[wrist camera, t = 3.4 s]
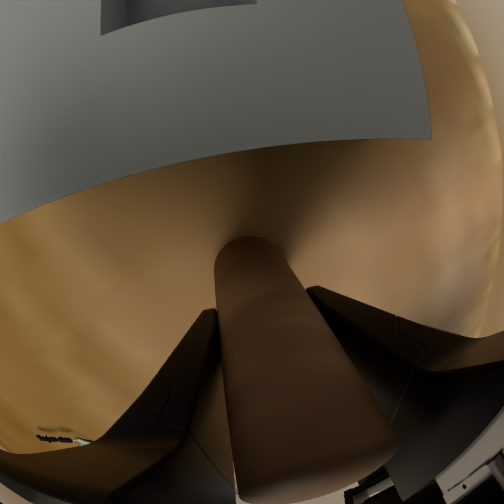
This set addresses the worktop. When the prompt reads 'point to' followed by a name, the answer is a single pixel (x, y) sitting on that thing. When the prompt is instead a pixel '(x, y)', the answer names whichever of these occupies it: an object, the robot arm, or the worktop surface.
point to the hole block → (192, 84)
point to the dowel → (289, 385)
